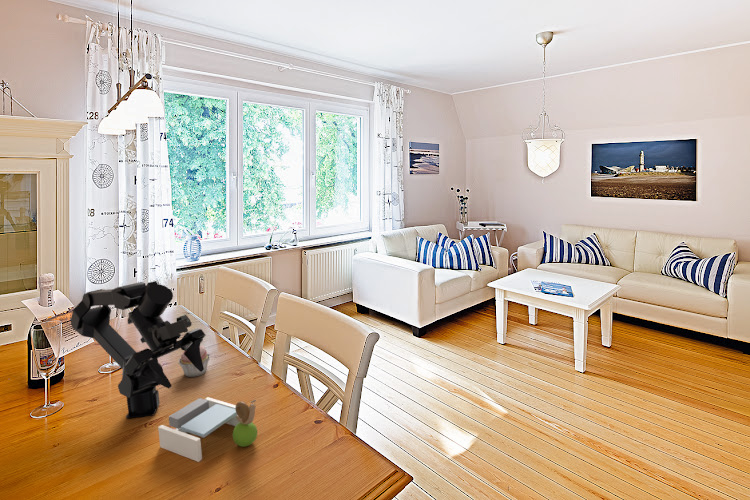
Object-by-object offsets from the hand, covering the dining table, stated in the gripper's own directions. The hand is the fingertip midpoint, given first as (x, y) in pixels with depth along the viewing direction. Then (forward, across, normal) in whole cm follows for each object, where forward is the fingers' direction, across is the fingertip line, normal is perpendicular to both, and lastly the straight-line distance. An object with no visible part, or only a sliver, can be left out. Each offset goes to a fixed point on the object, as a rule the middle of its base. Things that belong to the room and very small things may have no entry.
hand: (186, 378), depth 102 cm
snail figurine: (+21, +2, -2) cm, 21 cm away
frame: (+13, 0, +6) cm, 14 cm away
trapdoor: (+10, 0, +3) cm, 11 cm away
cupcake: (-7, +22, +27) cm, 35 cm away
